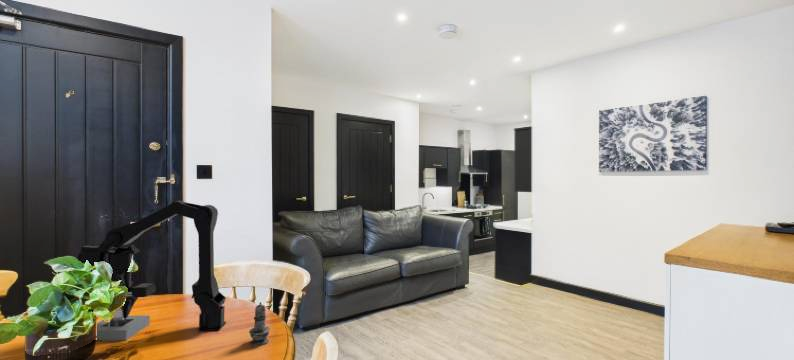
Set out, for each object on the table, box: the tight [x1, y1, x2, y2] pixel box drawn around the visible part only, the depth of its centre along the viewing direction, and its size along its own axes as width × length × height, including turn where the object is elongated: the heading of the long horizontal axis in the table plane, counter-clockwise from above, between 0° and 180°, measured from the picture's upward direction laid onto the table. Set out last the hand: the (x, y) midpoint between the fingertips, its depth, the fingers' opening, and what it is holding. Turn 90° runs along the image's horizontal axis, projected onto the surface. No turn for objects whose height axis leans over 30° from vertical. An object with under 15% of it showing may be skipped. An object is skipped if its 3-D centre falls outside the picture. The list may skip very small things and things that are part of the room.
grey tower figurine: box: [248, 301, 271, 347], centre depth 109 cm, size 6×6×12 cm
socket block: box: [96, 315, 151, 342], centre depth 113 cm, size 12×12×3 cm
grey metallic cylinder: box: [110, 306, 126, 327], centre depth 113 cm, size 4×4×8 cm
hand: (118, 317), depth 113 cm, fingers closed on grey metallic cylinder, 4 cm apart
